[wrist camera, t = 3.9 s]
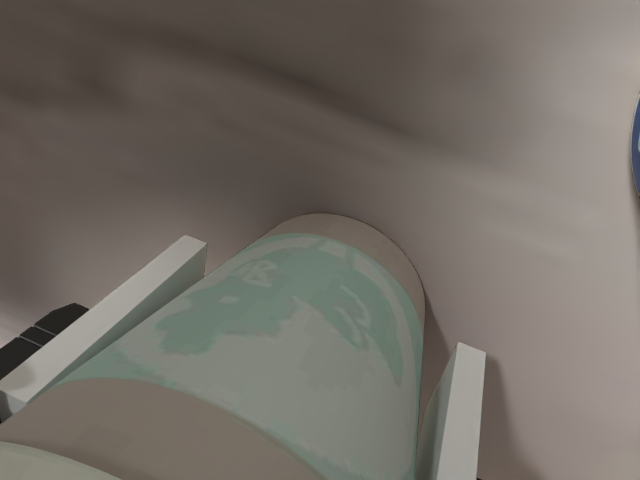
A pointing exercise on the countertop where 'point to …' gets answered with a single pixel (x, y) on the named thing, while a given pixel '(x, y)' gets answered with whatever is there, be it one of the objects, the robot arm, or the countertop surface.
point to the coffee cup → (249, 373)
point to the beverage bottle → (636, 145)
